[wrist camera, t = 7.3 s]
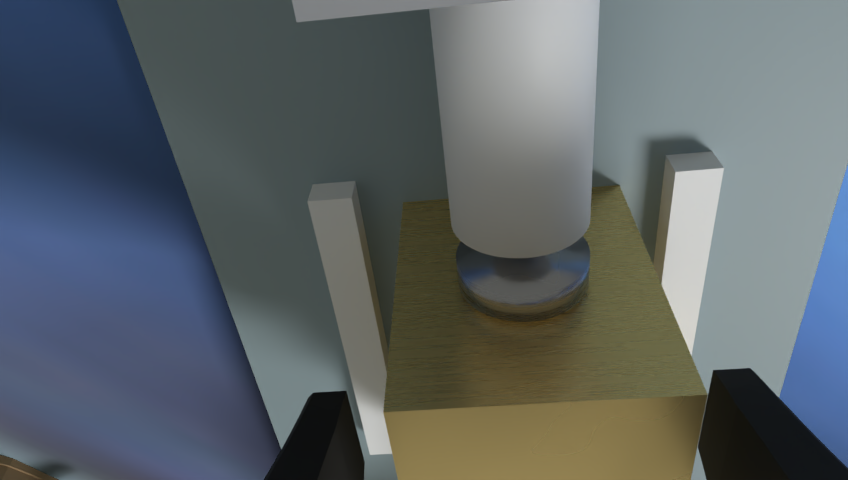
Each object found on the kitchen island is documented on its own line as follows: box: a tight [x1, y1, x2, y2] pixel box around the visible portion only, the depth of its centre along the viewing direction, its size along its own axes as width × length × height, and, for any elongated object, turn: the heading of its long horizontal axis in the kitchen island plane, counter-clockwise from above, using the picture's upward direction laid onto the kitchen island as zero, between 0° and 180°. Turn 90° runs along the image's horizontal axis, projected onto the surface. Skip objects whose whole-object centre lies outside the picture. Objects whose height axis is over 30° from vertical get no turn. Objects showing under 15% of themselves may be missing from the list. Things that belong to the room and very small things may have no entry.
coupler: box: [383, 185, 708, 480], centre depth 12 cm, size 4×7×5 cm, turn 6°
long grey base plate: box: [117, 0, 848, 480], centre depth 13 cm, size 12×24×6 cm, turn 6°
